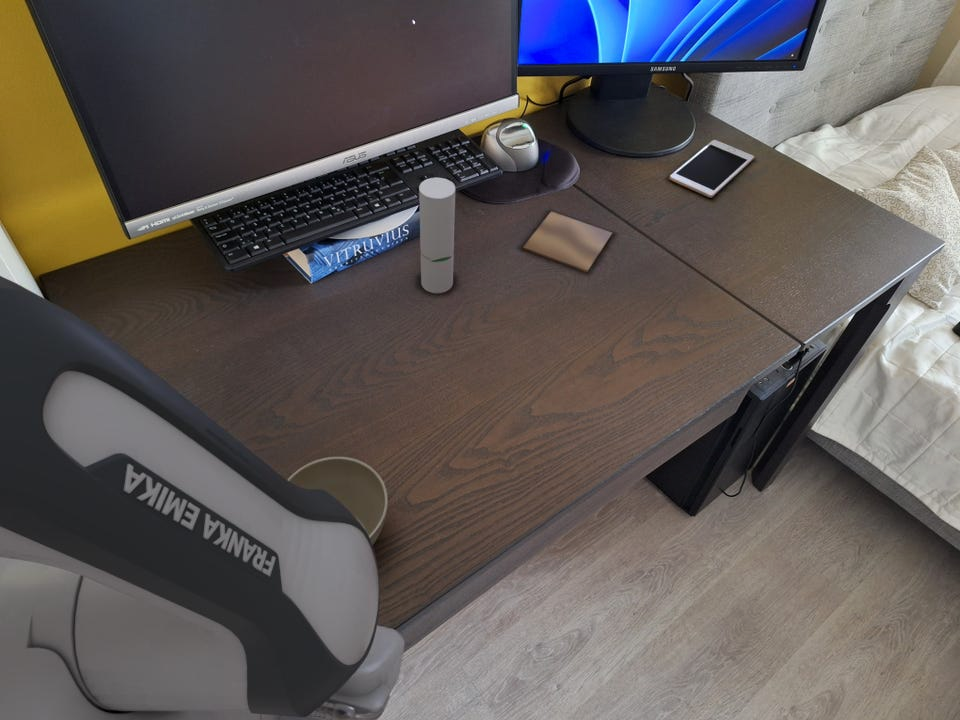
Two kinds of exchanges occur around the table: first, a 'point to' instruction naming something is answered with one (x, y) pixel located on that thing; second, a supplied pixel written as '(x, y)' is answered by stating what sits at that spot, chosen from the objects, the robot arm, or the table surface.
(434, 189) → the tube
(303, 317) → the table surface
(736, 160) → the cell phone
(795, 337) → the table surface
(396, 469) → the table surface
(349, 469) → the flower pot
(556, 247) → the shiny brown rectangular coaster
